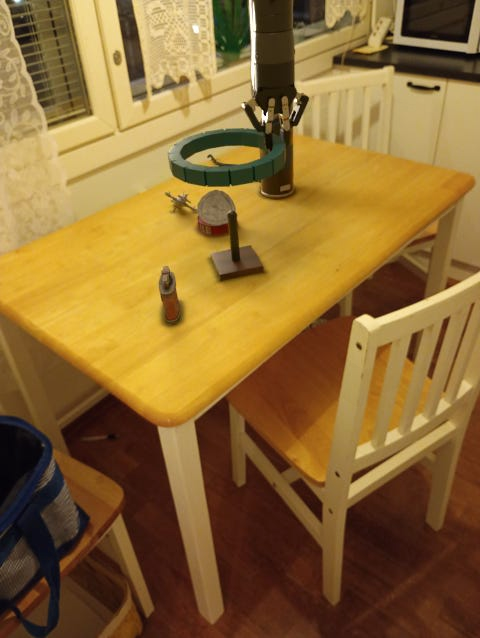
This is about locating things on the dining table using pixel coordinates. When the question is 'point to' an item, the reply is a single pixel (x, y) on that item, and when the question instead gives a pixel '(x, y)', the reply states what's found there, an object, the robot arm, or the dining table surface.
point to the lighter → (169, 296)
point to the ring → (225, 174)
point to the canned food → (214, 213)
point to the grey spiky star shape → (180, 201)
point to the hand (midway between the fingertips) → (276, 148)
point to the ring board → (238, 266)
